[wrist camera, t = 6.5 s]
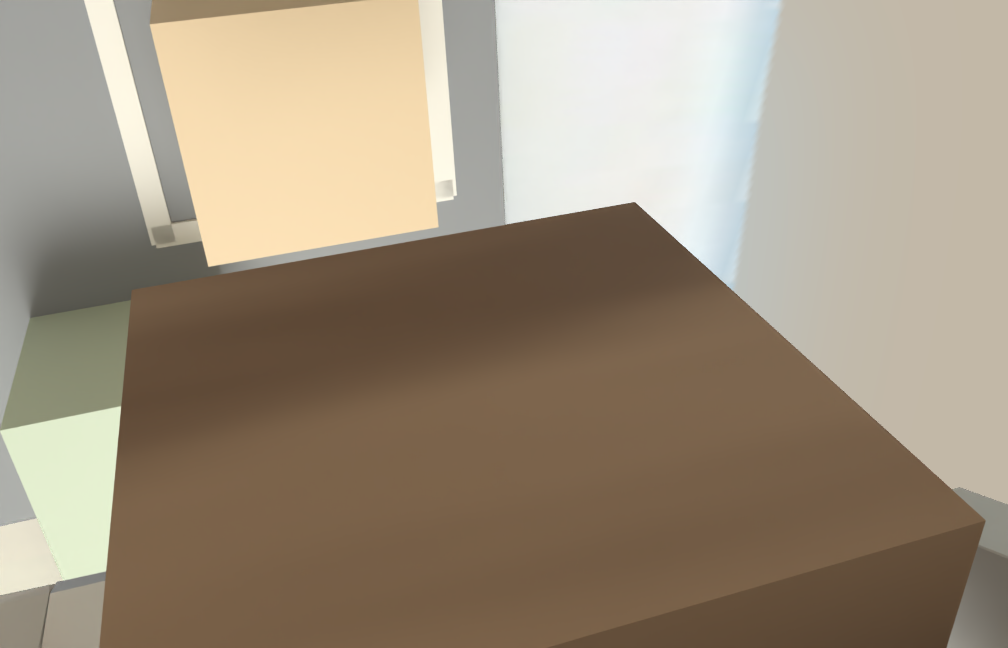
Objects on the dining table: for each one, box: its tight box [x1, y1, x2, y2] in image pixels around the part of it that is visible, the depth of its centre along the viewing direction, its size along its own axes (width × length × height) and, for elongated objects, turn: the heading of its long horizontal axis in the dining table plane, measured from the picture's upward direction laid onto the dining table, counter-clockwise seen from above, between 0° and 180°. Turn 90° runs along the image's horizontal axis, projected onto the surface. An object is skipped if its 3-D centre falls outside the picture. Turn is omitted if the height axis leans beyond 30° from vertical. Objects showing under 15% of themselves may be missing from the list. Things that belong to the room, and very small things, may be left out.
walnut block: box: [99, 202, 986, 648], centre depth 8 cm, size 5×5×5 cm
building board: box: [0, 0, 505, 526], centre depth 20 cm, size 24×16×6 cm, turn 3°
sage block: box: [0, 300, 131, 581], centre depth 24 cm, size 5×5×5 cm
